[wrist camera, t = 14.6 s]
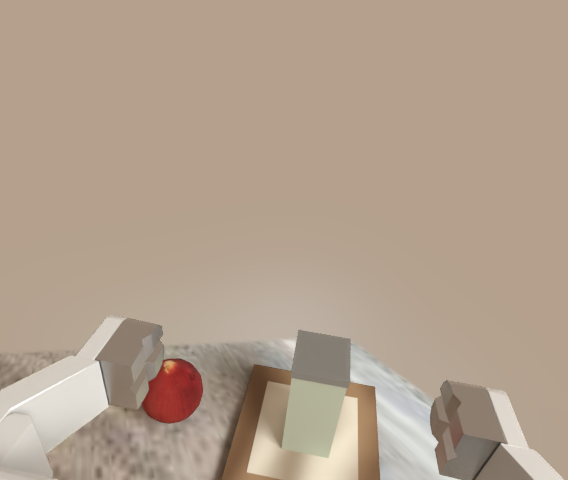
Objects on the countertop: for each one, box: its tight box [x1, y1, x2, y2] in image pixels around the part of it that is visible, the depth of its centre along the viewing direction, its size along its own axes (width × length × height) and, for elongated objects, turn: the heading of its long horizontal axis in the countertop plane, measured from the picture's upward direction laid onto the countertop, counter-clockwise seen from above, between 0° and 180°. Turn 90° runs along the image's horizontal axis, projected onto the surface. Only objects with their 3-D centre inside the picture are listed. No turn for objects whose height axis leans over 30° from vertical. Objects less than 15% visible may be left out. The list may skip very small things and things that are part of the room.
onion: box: [142, 359, 203, 423], centre depth 38 cm, size 6×6×8 cm
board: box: [221, 364, 380, 480], centre depth 39 cm, size 14×14×1 cm
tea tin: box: [281, 330, 351, 458], centre depth 35 cm, size 5×5×11 cm
